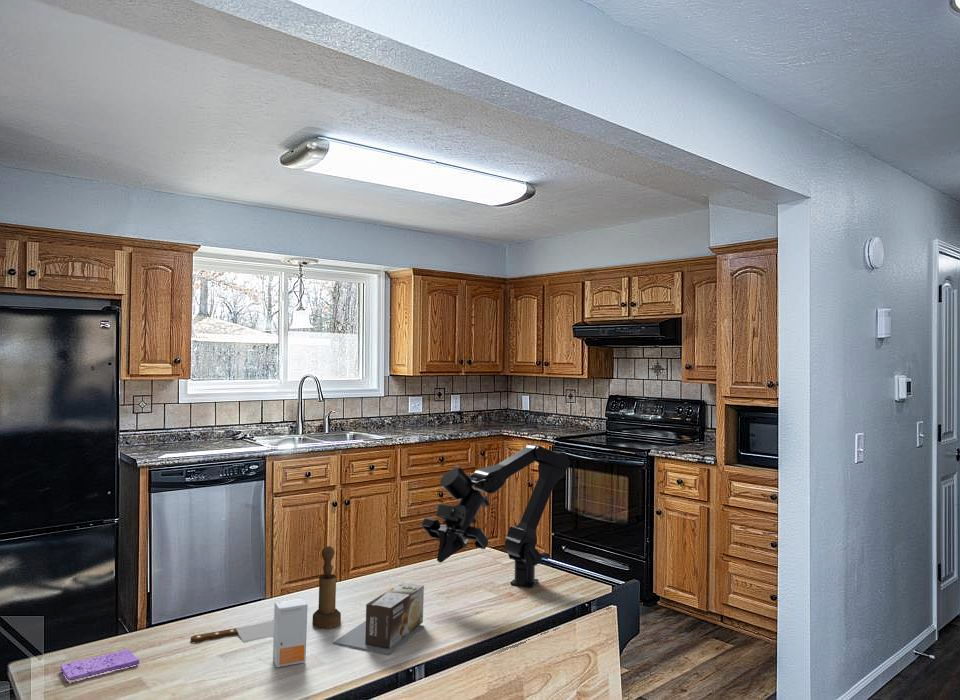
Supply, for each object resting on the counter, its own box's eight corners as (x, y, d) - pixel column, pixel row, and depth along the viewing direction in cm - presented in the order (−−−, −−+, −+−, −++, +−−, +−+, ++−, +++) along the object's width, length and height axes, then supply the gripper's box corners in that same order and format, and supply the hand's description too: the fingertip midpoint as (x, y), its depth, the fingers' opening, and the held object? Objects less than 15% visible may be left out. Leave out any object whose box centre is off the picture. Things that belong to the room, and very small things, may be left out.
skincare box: (276, 668, 136) (277, 608, 136) (272, 660, 140) (273, 601, 140) (306, 662, 139) (308, 604, 139) (302, 654, 143) (303, 597, 143)
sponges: (60, 673, 133) (60, 664, 133) (129, 656, 142) (130, 647, 142) (67, 687, 128) (68, 677, 128) (139, 668, 137) (139, 658, 137)
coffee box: (400, 581, 162) (365, 602, 147) (424, 584, 160) (391, 606, 145) (399, 620, 162) (364, 644, 147) (423, 624, 160) (390, 649, 145)
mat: (372, 618, 164) (372, 616, 164) (424, 627, 158) (424, 625, 158) (332, 643, 148) (333, 641, 148) (388, 655, 143) (388, 653, 143)
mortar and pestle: (346, 621, 161) (347, 545, 162) (329, 631, 155) (331, 552, 156) (323, 616, 164) (325, 542, 164) (306, 625, 158) (308, 548, 159)
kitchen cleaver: (196, 651, 143) (189, 632, 151) (196, 655, 143) (188, 636, 151) (309, 630, 155) (297, 613, 164) (309, 634, 155) (296, 617, 164)
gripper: (426, 487, 181) (396, 537, 172) (482, 496, 169) (453, 550, 160) (445, 511, 187) (417, 561, 178) (500, 522, 175) (473, 575, 166)
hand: (438, 561), depth 170 cm, fingers closed
